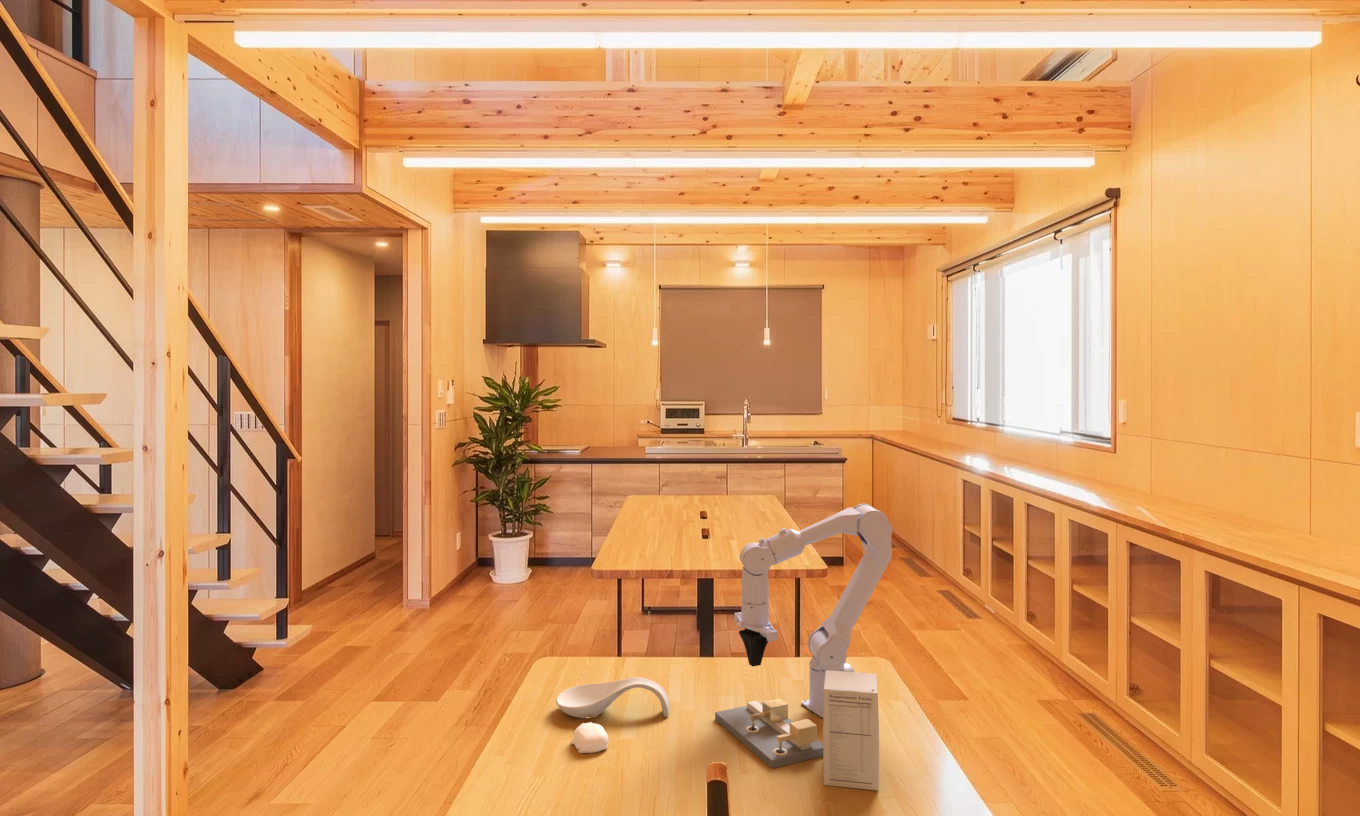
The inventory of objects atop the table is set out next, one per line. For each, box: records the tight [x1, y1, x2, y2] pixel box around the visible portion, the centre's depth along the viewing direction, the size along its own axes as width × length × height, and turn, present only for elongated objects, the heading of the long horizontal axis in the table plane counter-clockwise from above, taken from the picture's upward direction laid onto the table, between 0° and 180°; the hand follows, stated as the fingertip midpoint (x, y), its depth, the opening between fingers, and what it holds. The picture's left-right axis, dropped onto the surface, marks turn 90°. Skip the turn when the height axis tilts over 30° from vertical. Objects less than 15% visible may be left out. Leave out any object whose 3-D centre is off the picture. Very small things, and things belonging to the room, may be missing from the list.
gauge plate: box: [714, 700, 823, 769], centre depth 148 cm, size 12×22×6 cm, turn 25°
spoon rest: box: [555, 676, 670, 719], centre depth 159 cm, size 24×12×7 cm, turn 89°
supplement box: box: [822, 670, 880, 791], centre depth 133 cm, size 10×9×17 cm
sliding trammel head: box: [750, 698, 789, 730], centre depth 148 cm, size 8×3×4 cm, turn 115°
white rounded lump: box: [570, 721, 609, 754], centre depth 144 cm, size 8×7×4 cm
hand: (755, 664), depth 160 cm, fingers closed
